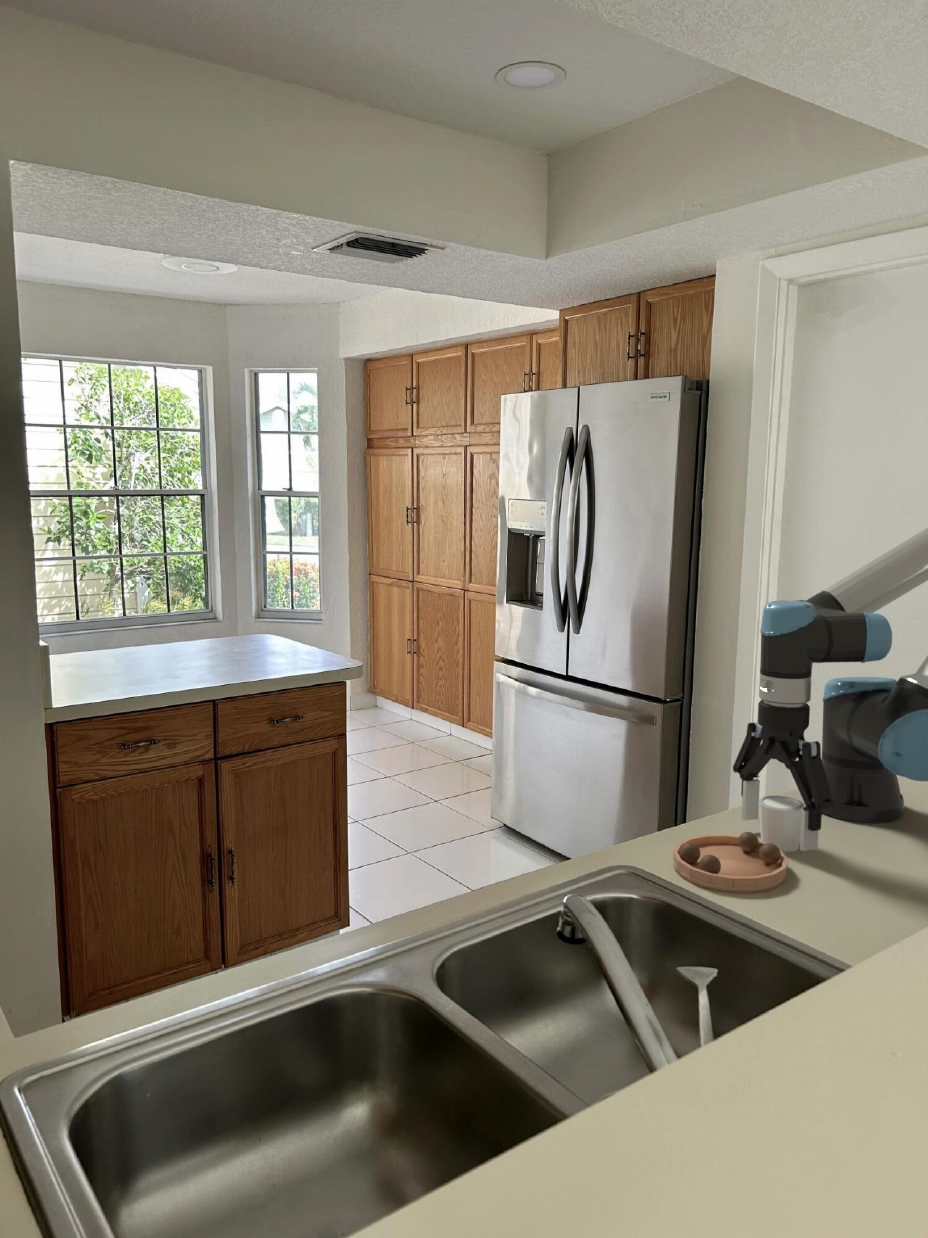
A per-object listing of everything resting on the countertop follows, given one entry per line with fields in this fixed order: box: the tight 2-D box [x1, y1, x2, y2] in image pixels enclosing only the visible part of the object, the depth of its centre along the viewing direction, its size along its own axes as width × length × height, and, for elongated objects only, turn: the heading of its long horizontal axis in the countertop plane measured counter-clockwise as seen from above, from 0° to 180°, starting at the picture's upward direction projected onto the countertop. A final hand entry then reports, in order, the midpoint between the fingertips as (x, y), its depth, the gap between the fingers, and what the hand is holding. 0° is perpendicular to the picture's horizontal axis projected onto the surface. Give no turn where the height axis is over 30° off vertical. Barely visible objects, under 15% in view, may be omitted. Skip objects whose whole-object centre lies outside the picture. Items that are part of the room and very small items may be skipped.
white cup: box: [758, 795, 805, 853], centre depth 143 cm, size 7×7×7 cm
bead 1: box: [680, 843, 700, 864], centre depth 135 cm, size 3×3×3 cm
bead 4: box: [759, 843, 781, 864], centre depth 134 cm, size 3×3×3 cm
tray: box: [672, 834, 789, 894], centre depth 135 cm, size 16×16×2 cm
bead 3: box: [738, 831, 760, 852], centre depth 139 cm, size 3×3×3 cm
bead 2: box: [699, 855, 721, 874], centre depth 130 cm, size 3×3×3 cm
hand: (777, 833), depth 143 cm, fingers open, 13 cm apart
